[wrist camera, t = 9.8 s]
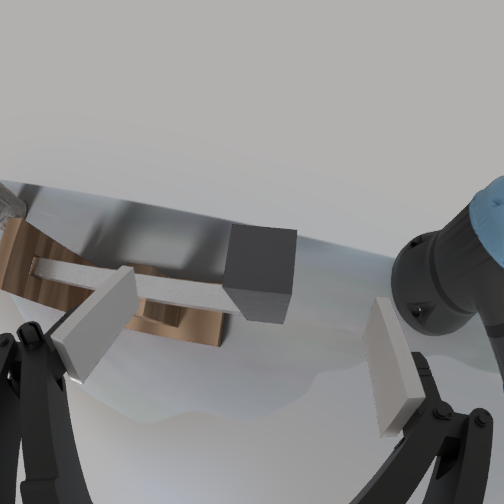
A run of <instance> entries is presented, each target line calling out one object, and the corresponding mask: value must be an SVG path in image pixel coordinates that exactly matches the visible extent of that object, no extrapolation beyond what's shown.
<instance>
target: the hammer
mask: <svg viewBox="0 0 504 504" xmlns="http://www.w3.org/2000/svg"><path fill="white" fill-rule="evenodd" d="M296 240H297V230H292V229H281V228H270V227H259V226H248V225H236V224H232V229H231V235H230V241H229V247H228V253H227V259H226V265H225V271H224V277H223V283H222V285H216V284H208V283H200V282H193V281H185V280H178V279H170V278H163V277H156V276H149V275H142V274H135V273H134V274H135V280H136V286H137V292H138V298H139V299H141V300H146V301H152V302H158V303H163V304H169V305H175V306H182V307H188V308H195V309H201V310H208V311H215V312H222V313H230V314H238V315H243V316H244V317H245V318H246V319H247V320H250V321H258V322H267V323H276V324H283V323H284V320H285V316H286V313H287V309H288V306H289V302H290V299H291V295H292V285H293V275H294V264H295V252H296ZM115 272H116V270H109V269H103V268H97V267H91V266H85V265H79V264H73V263H68V262H62V261H56V260H51V259H45V258H40V257H38V258H37V262H36V266H35V269H34V273H33V274H35V275H37V276H39V277H41V278H44V279H47V280H51V281H56V282H60V283H64V284H68V285H73V286H77V287H81V288H86V289H91V290H95V291H96V290H97V289H98V288H99V287H100V286H101V285H102V284H103V283H104V282H105V281H106V280H107V279H108V278H109V277H110V276H112V275H113V274H114V273H115Z"/></svg>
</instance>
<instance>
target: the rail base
mask: <svg viewBox="0 0 504 504" xmlns="http://www.w3.org/2000/svg"><path fill="white" fill-rule="evenodd" d="M38 257H40V258H45V259H51V260H56V261H62V262H68V263H73V264H79V265H85V266H91V267H97V266H95V265H93V264H92V263H90V262H88V261H87V260H85V259H83V258H82V257H80V256H78V255H77V254H75V253H74V252H72V251H70V250H69V249H67V248H66V247H64V246H63V245H61V244H60V243H58V242H56V241H55V240H53V239H52V238H50V237H49V236H47V235H46V234H44V233H43V232H41V231H40V230H38V229H37V228H35V227H34V226H33V225H31V224H30V223H28V222H27V221H25V220H24V219H23V218H9V219H8V222H7V224H6V227H5V230H4V233H3V236H2V239H1V242H0V289H2V290H4V291H7V292H9V293H12V294H15V295H17V296H20V297H23V298H25V299H28V300H31V301H34V302H37V303H40V304H43V305H45V306H48V307H51V308H54V309H58V310H61V311H64V312H67V311H68V310H69V309H71V308H73V307H75V306H76V305H81V304H82V303H83V302H84V301H85V300H86V299H87V298H88V297H89V296H90V295H91V294H92V293H93V292H95V290H91V289H86V288H81V287H77V286H73V285H68V284H64V283H60V282H56V281H51V280H47V279H44V278H41V277H39V276H37V275H35V274H33V273H34V269H35V266H36V262H37V258H38ZM33 258H34V259H33ZM32 261H33V263H32ZM31 264H32V267H31ZM127 266H129V267H134V273H135V274H142V275H149V276H156V277H163V278H170V279H178V278H171V277H166V276H165V275H164V274H162V273H161V272H160V271H159V270H157V269H156V268H155V267H154V266H149V265H141V264H134V263H127ZM30 268H31V270H30ZM97 268H103V267H97ZM103 269H109V268H103ZM109 270H116V269H109ZM116 271H117V270H116ZM29 272H30V274H29ZM178 280H185V281H193V282H200V283H208V284H216V285H222V284H218V283H209V282H201V281H194V280H186V279H178ZM139 304H140V308H139V309H138V311H137V312H136V313H135V315H134V316H133V317H132V318H131V320H130V321H129V322H128V324H127V325H126V326H125V328H127V329H131V330H135V331H139V332H144V333H148V334H153V335H158V336H163V337H167V338H172V339H178V340H183V341H188V342H194V343H200V344H206V345H212V346H218V347H220V345H221V338H222V332H223V325H224V318H225V313H222V312H215V311H208V310H201V309H195V308H188V307H182V306H175V305H169V304H163V303H158V302H152V301H146V300H141V299H139Z"/></svg>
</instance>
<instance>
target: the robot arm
mask: <svg viewBox="0 0 504 504" xmlns="http://www.w3.org/2000/svg"><path fill="white" fill-rule="evenodd" d="M391 287H392V294H393V298H394V301H395V304H396V307H397V309H398V311H399V313H400V314H401V316H402V317H403V319H404V320H405V321H406V322H407V323H408V324H409V325H410V326H411V327H412V328H413V329H415V330H416V331H418V332H420V333H422V334H425V335H429V336H440V335H445V334H449V333H452V332H454V331H456V330H458V329H460V328H461V327H462V326H464V325H465V324H466V323H467V322H468V321H469V320H470V319H471V318H472V317H473V316H474V315H475V314H476V313H477V312H479V314H480V317H481V319H482V322H483V324H484V327H485V329H486V332H487V335H488V338H489V340H490V343H491V346H492V349H493V352H494V354H495V357H496V361H497V364H498V367H499V370H500V373H501V376H502V380H503V390H504V176H501V177H498V178H497V179H495V180H494V181H493V182H492V183H491V184H489V185H488V186H487V187H486V188H485V189H484V190H481V191H479V192H478V193H476V194H475V196H474V197H473V199H472V201H471V202H470V203H469V204H468V205H467V206H466V207H465V208H464V209H463V210H462V211H461V212H460V213H459V214H458V215H457V216H456V217H455V218H454V219H453V220H452V221H451V222H449V223H448V224H447V225H446V226H445V227H444V228H443V229H442V230H439V231H434V232H430V233H425V234H422V235H419V236H417V237H416V238H414V239H413V240H411V241H410V242H409V243H408V244H407V245H406V246H405V247H404V248H403V249H402V250H401V251H400V253H399V254H398V256H397V258H396V260H395V262H394V266H393V269H392V276H391ZM139 308H140V304H139V298H138V292H137V286H136V280H135V274H134V267H129V266H123V265H122V266H121V267H120V268H119V269H118V270H117V271H116V272H115V273H114V274H113V275H112V276H110V277H109V278H108V279H107V280H106V281H105V282H104V283H103V284H102V285H101V286H100V287H99V288H98V289H97V290H96V291H95V292H93V293H92V294H91V295H90V296H89V297H88V298H87V299H86V300H85V301H84V302H83V303H82V304H81V305H76V306H75V307H73V308H71V309H69V310H68V311H67V312H66V313H65V314H64V316H62V317H61V318H60V319H59V321H57V322H56V323H55V324H54V325H53V326H52V327H51V328H50V329H49V330H48V332H47V333H46V334H45V335H44V334H43V332H42V329H41V327H40V325H39V324H38V323H37V322H34V321H32V322H27V323H24V324H23V325H21V326H20V327H19V328H18V330H17V332H16V333H17V335H18V337H19V339H20V342H16V341H15V338H14V336H13V335H12V334H11V333H3V334H1V335H0V504H15V497H16V478H17V466H18V456H19V449H20V442H21V438H22V450H23V459H24V467H25V473H26V479H25V481H22V482H21V484H20V492H21V496H22V502H23V504H93V503H92V501H91V498H90V496H89V492H88V490H87V486H86V483H85V479H84V476H83V472H82V469H81V465H80V461H79V457H78V453H77V449H76V444H75V440H74V436H73V430H72V425H71V419H70V413H69V407H68V400H67V392H66V384H65V379H64V376H63V374H64V373H65V372H66V371H67V373H68V375H69V377H70V379H71V380H74V381H76V382H78V383H80V384H83V383H84V382H85V380H86V379H87V377H88V376H89V375H90V373H91V372H92V370H93V369H94V368H95V366H96V365H97V364H98V362H99V361H100V359H101V358H102V357H103V355H104V354H105V353H106V351H107V350H108V349H109V347H110V346H111V345H112V343H113V342H114V341H115V339H116V338H117V337H118V335H119V334H120V333H121V331H122V330H123V329H124V328H125V326H126V325H127V324H128V322H129V321H130V320H131V318H132V317H133V316H134V315H135V313H136V312H137V311H138V309H139ZM362 338H363V342H364V347H365V352H366V356H367V361H368V366H369V371H370V377H371V382H372V387H373V393H374V399H375V405H376V411H377V418H378V424H379V431H380V437H394V436H397V435H398V434H399V433H400V431H401V430H402V429H403V435H404V437H403V438H402V439H401V441H400V442H399V443H398V444H397V445H396V446H395V448H394V451H393V452H392V453H391V455H390V456H389V457H388V459H387V460H386V461H385V463H384V464H383V465H382V466H381V468H380V469H379V470H378V472H377V473H376V474H375V475H374V476H373V478H372V479H371V480H370V481H369V482H368V483H367V485H366V486H365V487H364V488H363V489H362V490H361V492H360V493H359V494H358V495H357V496H356V497H355V498H354V499H353V500H352V501H351V503H350V504H406V502H407V501H408V499H409V498H410V497H411V495H412V493H413V492H414V490H415V489H416V488H417V486H418V484H419V483H420V481H421V480H422V478H423V477H424V475H425V473H426V472H427V470H428V468H429V466H430V465H431V463H432V461H433V460H434V458H435V456H437V459H436V462H435V466H434V469H433V473H432V476H431V479H430V483H429V486H428V489H427V492H426V495H425V498H424V500H423V503H422V504H483V499H484V495H485V489H486V485H487V479H488V472H489V466H490V457H491V448H492V436H493V418H492V416H491V414H490V413H489V412H488V411H487V410H485V409H483V408H476V409H474V410H473V411H472V412H471V413H470V414H469V415H465V414H460V413H456V412H454V411H453V409H452V407H451V406H450V405H449V404H448V403H446V402H444V401H442V400H441V398H440V395H439V392H438V389H437V386H436V384H435V381H434V378H433V376H432V373H431V370H429V365H428V362H427V360H426V359H425V357H424V356H423V355H422V354H421V353H420V352H410V349H409V347H408V344H407V341H406V339H405V336H404V333H403V331H402V328H401V326H400V323H399V321H398V318H397V316H396V313H395V311H394V309H393V306H392V304H391V302H390V299H389V298H386V297H375V300H374V304H373V307H372V310H371V313H370V316H369V319H368V322H367V325H366V328H365V331H364V334H363V337H362ZM8 372H9V374H10V377H9V379H8V378H7V377H8Z"/></svg>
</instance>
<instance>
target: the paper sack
mask: <svg viewBox="0 0 504 504" xmlns="http://www.w3.org/2000/svg"><path fill="white" fill-rule="evenodd" d="M26 213H27V206H26V203H25V201H22V200H20V199H19V198H18V197H17V196H15V195H14V194H13V193H12V192H11V191H9V190H8V189H7V188H6V187H5V186H4V185H3V184H1V183H0V229H2V230H3V231H4V230H5V227H6V224H7V222H8V219H9V218H23V219H24V220H25V217H26Z"/></svg>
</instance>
